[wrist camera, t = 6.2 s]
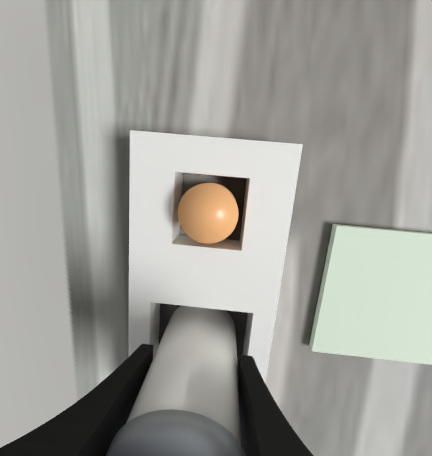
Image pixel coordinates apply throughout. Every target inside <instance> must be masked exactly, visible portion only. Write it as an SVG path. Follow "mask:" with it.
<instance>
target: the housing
mask: <svg viewBox="0 0 432 456" xmlns="http://www.w3.org/2000/svg"><path fill="white" fill-rule="evenodd" d="M302 146H303V144H291V143H279V142H267V141H254V140H242V139H230V138H218V137H206V136H193V135H181V134H169V133H157V132H145V131H132V130H130V193H129V327H128V357H129V356H130V355H131V354H132V353H133V352H134V351H135V350H136V349H137V348H138V347H139V346H140V345H141V344H150V345H153V358H154V356H155V353H156V351H157V349H158V346H159V322H160V303H163V304H172V305H182V306H191V307H200V308H210V309H219V310H228V311H238V312H247V313H248V314H247V322H246V330H245V338H244V346H243V354H242V355H248V356H252V357H253V358H254V360H255V363H256V365H257V367H258V370H259V372H260V374H261V376H262V378H263V380H264V382H266V376H267V369H268V363H269V357H270V350H271V344H272V337H273V331H274V325H275V318H276V312H277V305H278V299H279V293H280V286H281V280H282V273H283V267H284V261H285V254H286V248H287V242H288V235H289V229H290V222H291V216H292V210H293V203H294V197H295V190H296V184H297V178H298V171H299V165H300V158H301V152H302ZM183 173H188V174H200V175H211V176H223V177H234V178H246V179H247V180H246V189H245V198H244V207H243V216H242V225H241V234H240V241H238V240H228V239H224V240H222V241H220V242H217V243H211V244H205V243H200V242H197V241H195V240H193V239H191V238H190V237H189V236H187V235H180V223H179V220H178V206H179V203H180V200H181V198H182V180H183Z"/></svg>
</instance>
